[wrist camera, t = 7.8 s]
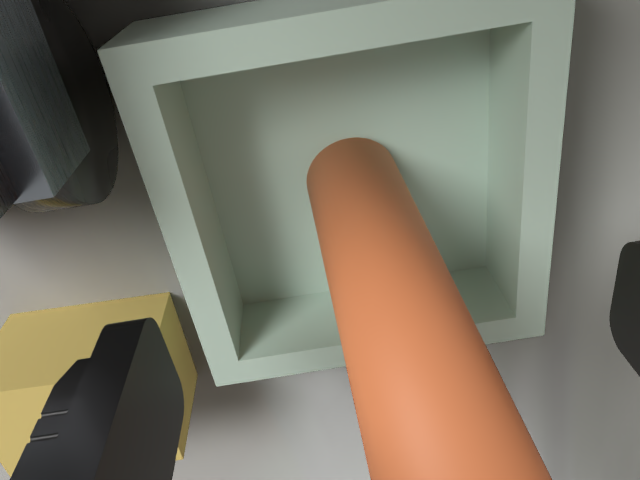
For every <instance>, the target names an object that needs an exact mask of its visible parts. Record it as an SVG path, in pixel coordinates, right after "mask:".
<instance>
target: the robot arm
mask: <svg viewBox="0 0 640 480" xmlns="http://www.w3.org/2000/svg"><path fill="white" fill-rule="evenodd" d="M610 327H611V332H612V335H613V338H614V341H615V343H616V345H617V347H618V349H619V350H620V352H621V353H622V354H623V356H624V357H625V358H626V359H627V361H628V362H629V363H630V365H631V366H632V367H633V369H634V370H635V371H636V372H637V374H638V375H639V376H640V241H635V242H629V243H627V244H626V245H624V247H623V248H622V250H621V253H620V258H619V264H618V269H617V275H616V281H615V287H614V292H613V298H612V304H611V310H610ZM183 416H184V395H183V389H182V384H181V381H180V378H179V376H178V373H177V371H176V368H175V366H174V363H173V361H172V358H171V356H170V353H169V351H168V348H167V346H166V343H165V341H164V338H163V336H162V333H161V331H160V328H159V326H158V324H157V322H156V321H155V320H154V319H153V318H151V317H149V318H143V319H137V320H130V321H124V322H118V323H112V324H107V325H105V326H104V327H103V329H102V331H101V333H100V335H99V338H98V340H97V342H96V345H95V347H94V350H93V352H92V354H91V357H90V358H85V359H79V360H77V361H76V362H75V363H74V364H73V365H72V366H71V367H70V368H69V369H68V371H67V372H66V373H65V374H64V375H63V376H62V377H61V378H60V379H59V380H58V381H57V383H56V384H55V385H54V386H53V388H52V390H51V393H50V395H49V397H48V399H47V401H46V403H45V405H44V408H43V410H42V412H41V419H38V420H37V423H36V425H35V427H34V429H33V431H32V433H31V435H30V443H27V444H26V446H25V448H24V450H23V452H22V455H21V457H20V459H19V461H18V463H17V465H16V467H15V469H14V472H13V474H12V476H11V478H10V480H172V476H173V471H174V466H175V460H176V455H177V449H178V444H179V439H180V433H181V428H182V422H183Z"/></svg>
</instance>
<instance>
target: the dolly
mask: <svg viewBox="0 0 640 480" xmlns="http://www.w3.org/2000/svg"><path fill="white" fill-rule="evenodd" d="M117 168H118V138H117V129H116V122H115V116H114V111H113V106H112V102H111V98H110V94H109V91H108V87H107V84H106V81H105V78H104V75H103V72H102V69H101V67H100V64H99V61H98V59H97V57H96V54H95V52H94V50H93V48H92V46H91V43H90V41H89V39H88V37H87V36H86V34H85V32H84V30H83V28H82V27H81V25H80V24H79V22H78V20H77V19H76V17H75V16H74V15H73V13H72V12H71V10H70V9H69V8H68V7H67V6H66V4H65V3H64V2H63V1H62V0H0V218H1V217H2V216H3V215H4V214H5V213H6V211H7V210H8V209H9V208H10V207H11V206H12V205H15V206H17V207H18V208H20V209H23V210H26V211H28V212H35V213H38V212H46V211H53V210H59V209H65V208H71V207H77V206H83V205H89V204H95V203H99V202H101V201H103V200H104V199H106V198H107V197H108V195H109V194H110V192H111V190H112V188H113V186H114V183H115V180H116V174H117Z"/></svg>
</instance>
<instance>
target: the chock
mask: <svg viewBox="0 0 640 480" xmlns="http://www.w3.org/2000/svg"><path fill="white" fill-rule="evenodd" d="M149 317H151V318H153V319H154V320H155V321H156V322H157V324H158V326H159V328H160V331H161V333H162V336H163V338H164V341H165V343H166V346H167V348H168V351H169V353H170V356H171V358H172V361H173V363H174V366H175V368H176V371H177V373H178V376H179V378H180V381H181V384H182V389H183V395H184V416H183V422H182V428H181V433H180V439H179V444H178V449H177V455H176V460H182V459H183V458H184V452H185V446H186V440H187V434H188V428H189V423H190V417H191V411H192V405H193V399H194V393H195V387H196V381H197V376H198V374H197V371H196V369H195V366H194V363H193V360H192V357H191V354H190V351H189V348H188V345H187V342H186V339H185V336H184V333H183V330H182V327H181V324H180V321H179V318H178V315H177V312H176V309H175V306H174V303H173V301H172V298H171V295H170V292H167V293H160V294H153V295H146V296H138V297H131V298H124V299H117V300H110V301H103V302H95V303H88V304H81V305H74V306H67V307H60V308H52V309H45V310H38V311H31V312H24V313H17V314H10V316H9V317H8V319H7V321H6V322H5V324H4V325H3V327H2V328H1V330H0V463H1V464H2V466H3V467H4V468H5V470H6V471H7V473H8V474H9V476H10V477H11V476H12V474H13V472H14V469H15V467H16V465H17V463H18V461H19V459H20V457H21V455H22V452H23V450H24V448H25V446H26V444H27V443H30V435H31V433H32V431H33V429H34V427H35V425H36V423H37V420H38V419H41V412H42V410H43V408H44V405H45V403H46V401H47V399H48V397H49V395H50V393H51V390H52V388H53V386H54V385H55V384H56V383H57V381H58V380H59V379H60V378H61V377H62V376H63V375H64V374H65V373H66V372H67V371H68V369H69V368H70V367H71V366H72V365H73V364H74V363H75V362H76V361H77V360H79V359H85V358H90V357H91V354H92V352H93V350H94V347H95V345H96V342H97V340H98V338H99V335H100V333H101V331H102V329H103V327H104V326H105V325H107V324H112V323H118V322H124V321H130V320H137V319H143V318H149Z"/></svg>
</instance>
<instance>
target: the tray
mask: <svg viewBox="0 0 640 480" xmlns="http://www.w3.org/2000/svg"><path fill="white" fill-rule="evenodd" d="M575 2H576V0H256V1H250V2H244V3H239V4H233V5H227V6H221V7H215V8H209V9H204V10H198V11H192V12H186V13H180V14H174V15H169V16H163V17H157V18H151V19H145V20H139V21H134V22H132V23H131V24H130V25H128V26H127V27H126V28H125V29H123V30H122V31H121V32H120V33H118V34H117V35H116V36H115V37H113V38H112V39H111V40H109V41H108V42H107V43H106V44H104V45H103V46H102V47H101V48H99V49H98V50H97V52H98V54H99V57H100V60H101V63H102V66H103V69H104V71H105V74H106V77H107V80H108V83H109V86H110V88H111V91H112V94H113V97H114V100H115V102H116V105H117V108H118V111H119V114H120V117H121V119H122V122H123V125H124V128H125V131H126V133H127V136H128V139H129V142H130V145H131V148H132V150H133V153H134V156H135V159H136V162H137V165H138V167H139V170H140V173H141V176H142V179H143V181H144V184H145V187H146V190H147V193H148V196H149V198H150V201H151V204H152V207H153V210H154V212H155V215H156V218H157V221H158V224H159V227H160V229H161V232H162V235H163V238H164V241H165V244H166V246H167V249H168V252H169V255H170V258H171V260H172V263H173V266H174V269H175V272H176V275H177V277H178V280H179V283H180V286H181V289H182V291H183V294H184V297H185V300H186V303H187V306H188V308H189V311H190V314H191V317H192V320H193V323H194V325H195V328H196V331H197V334H198V337H199V339H200V342H201V345H202V348H203V351H204V354H205V356H206V359H207V362H208V365H209V368H210V370H211V373H212V376H213V379H214V382H215V385H216V387H218V386H224V385H231V384H237V383H243V382H250V381H256V380H263V379H269V378H275V377H282V376H288V375H295V374H301V373H307V372H314V371H320V370H327V369H333V368H339V367H346V363H345V359H344V354H343V350H342V345H341V341H340V336H339V331H338V327H337V322H336V318H335V313H334V309H333V304H332V299H331V295H330V290H329V286H328V281H327V277H326V272H325V267H324V263H323V258H322V254H321V249H320V244H319V240H318V235H317V231H316V226H315V222H314V217H313V212H312V208H311V203H310V199H309V194H308V190H307V173H308V170H309V167H310V165H311V163H312V161H313V160H314V158H315V157H316V156H317V155H318V154H319V152H321V151H322V150H323V149H324V148H326V147H327V146H329V145H330V144H332V143H334V142H336V141H339V140H342V139H346V138H355V137H360V138H367V139H371V140H373V141H376V142H378V143H379V144H381V145H382V146H384V147H385V148H386V149H387V150H388V151H389V152H390V154H391V155H392V157H393V159H394V161H395V163H396V165H397V167H398V169H399V171H400V173H401V175H402V177H403V179H404V181H405V183H406V185H407V187H408V189H409V191H410V194H411V196H412V198H413V200H414V202H415V204H416V206H417V208H418V210H419V212H420V214H421V216H422V218H423V220H424V222H425V224H426V226H427V228H428V230H429V232H430V234H431V236H432V238H433V240H434V242H435V244H436V246H437V248H438V250H439V252H440V254H441V256H442V258H443V260H444V262H445V264H446V266H447V268H448V270H449V272H450V274H451V276H452V278H453V280H454V282H455V284H456V286H457V289H458V291H459V293H460V295H461V297H462V299H463V301H464V303H465V305H466V307H467V309H468V311H469V313H470V315H471V317H472V319H473V321H474V323H475V325H476V327H477V329H478V331H479V333H480V335H481V337H482V339H483V341H484V343H485V345H487V344H493V343H499V342H506V341H512V340H519V339H525V338H531V337H538V336H544V331H545V320H546V310H547V299H548V289H549V278H550V267H551V257H552V246H553V235H554V225H555V214H556V204H557V193H558V182H559V172H560V161H561V151H562V140H563V129H564V119H565V108H566V98H567V87H568V76H569V66H570V55H571V44H572V34H573V23H574V13H575Z"/></svg>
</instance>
